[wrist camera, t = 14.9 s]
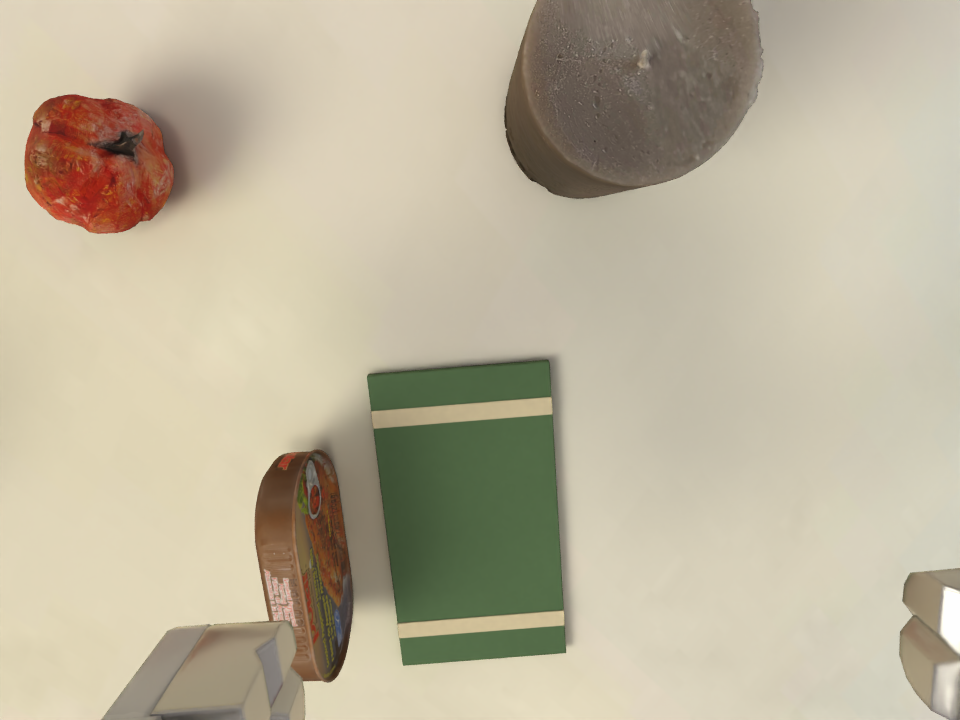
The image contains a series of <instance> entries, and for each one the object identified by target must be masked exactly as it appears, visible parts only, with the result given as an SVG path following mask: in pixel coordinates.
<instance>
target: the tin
mask: <svg viewBox="0 0 960 720" xmlns="http://www.w3.org/2000/svg"><path fill="white" fill-rule="evenodd" d="M255 543H256V550H257V556H258V562H259V568H260V573H261V579H262V584H263V590H264V596H265V601H266V606H267V612H268V617H269V621H280V620H288V621H289V623H290V624H291V625H292V626H293V629H294V634H295V639H296V644H297V651H296V653H295V656H294V658H293V661H292V663H291V667H292V668H293V669H294V670H295V671H296V672H297V673H298V674H299V675H300V676H301V677H302V679H303V681H324V682H332V681H333V680H334V679H335V678H336V677H337V676H338V674H339V672H340V670H341V668H342V666H343V664H344V660H345V657H346V653H347V649H348V644H349V638H350V632H351V624H352V614H353V589H352V578H351V570H350V563H349V557H348V550H347V543H346V536H345V530H344V523H343V515H342V508H341V501H340V494H339V487H338V482H337V477H336V473H335V470H334V467H333V464H332V462H331V460H330V458H329V457H328V455H327V454H326V453H325V452H323V451H322V450H313V451H311V452H294V453H287V454H283V455H281V456H279V457H278V458H277V459H276V460H275V461H274V462H273V464H272V465H271V467H270V468H269V470H268V471H267V472H266V474H265V475H264V477H263V479H262V482H261V485H260V488H259V492H258V497H257V502H256V510H255Z"/></svg>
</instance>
